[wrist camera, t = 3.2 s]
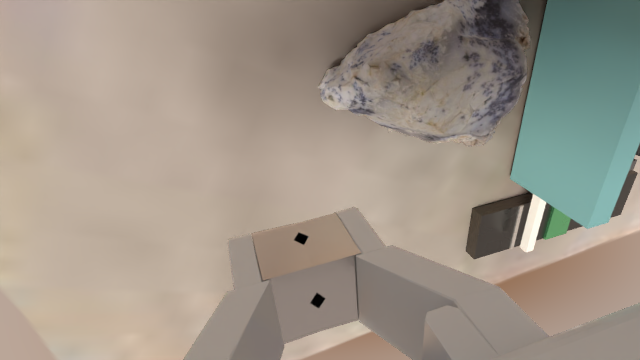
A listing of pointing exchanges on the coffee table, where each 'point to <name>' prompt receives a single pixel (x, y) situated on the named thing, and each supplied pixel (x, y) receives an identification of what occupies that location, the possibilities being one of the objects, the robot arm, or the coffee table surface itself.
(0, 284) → the coffee table surface
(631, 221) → the coffee table surface
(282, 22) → the coffee table surface
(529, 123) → the gauge plate
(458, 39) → the mineral specimen
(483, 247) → the gauge frame
